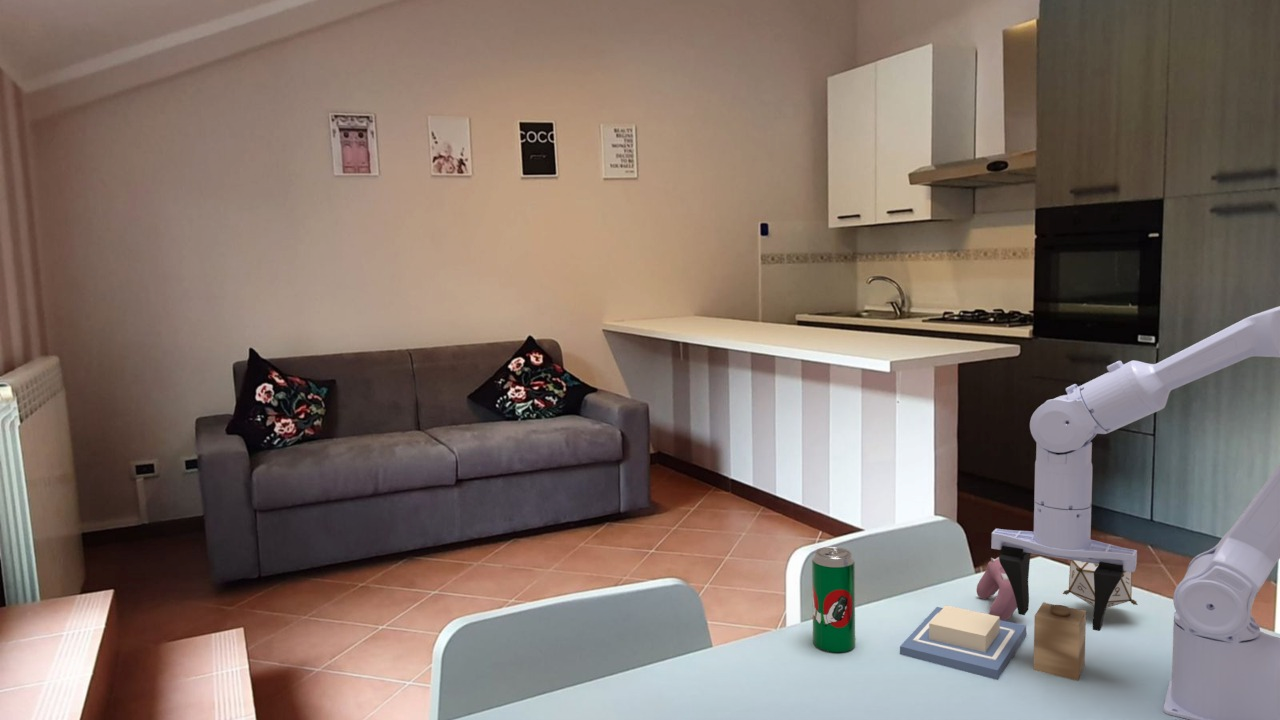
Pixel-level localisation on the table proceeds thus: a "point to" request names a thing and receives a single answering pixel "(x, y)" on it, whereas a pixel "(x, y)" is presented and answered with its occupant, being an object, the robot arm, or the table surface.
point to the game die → (1084, 584)
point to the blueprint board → (963, 658)
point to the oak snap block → (1059, 641)
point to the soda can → (833, 599)
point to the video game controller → (990, 585)
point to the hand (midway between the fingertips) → (1059, 619)
